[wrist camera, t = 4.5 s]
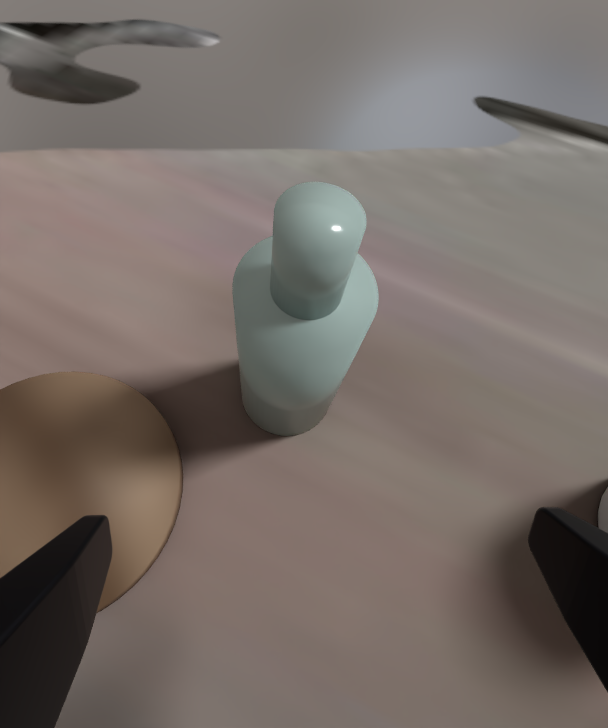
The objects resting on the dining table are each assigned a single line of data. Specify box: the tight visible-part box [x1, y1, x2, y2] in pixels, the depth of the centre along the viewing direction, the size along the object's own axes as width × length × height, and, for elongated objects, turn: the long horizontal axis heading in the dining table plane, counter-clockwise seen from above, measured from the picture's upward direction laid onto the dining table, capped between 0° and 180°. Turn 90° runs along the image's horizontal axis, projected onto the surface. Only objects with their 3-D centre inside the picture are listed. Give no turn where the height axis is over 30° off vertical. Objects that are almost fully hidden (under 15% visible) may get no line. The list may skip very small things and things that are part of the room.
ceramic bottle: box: [233, 182, 378, 436], centre depth 18 cm, size 5×5×14 cm
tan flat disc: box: [0, 372, 183, 613], centre depth 20 cm, size 12×12×1 cm
